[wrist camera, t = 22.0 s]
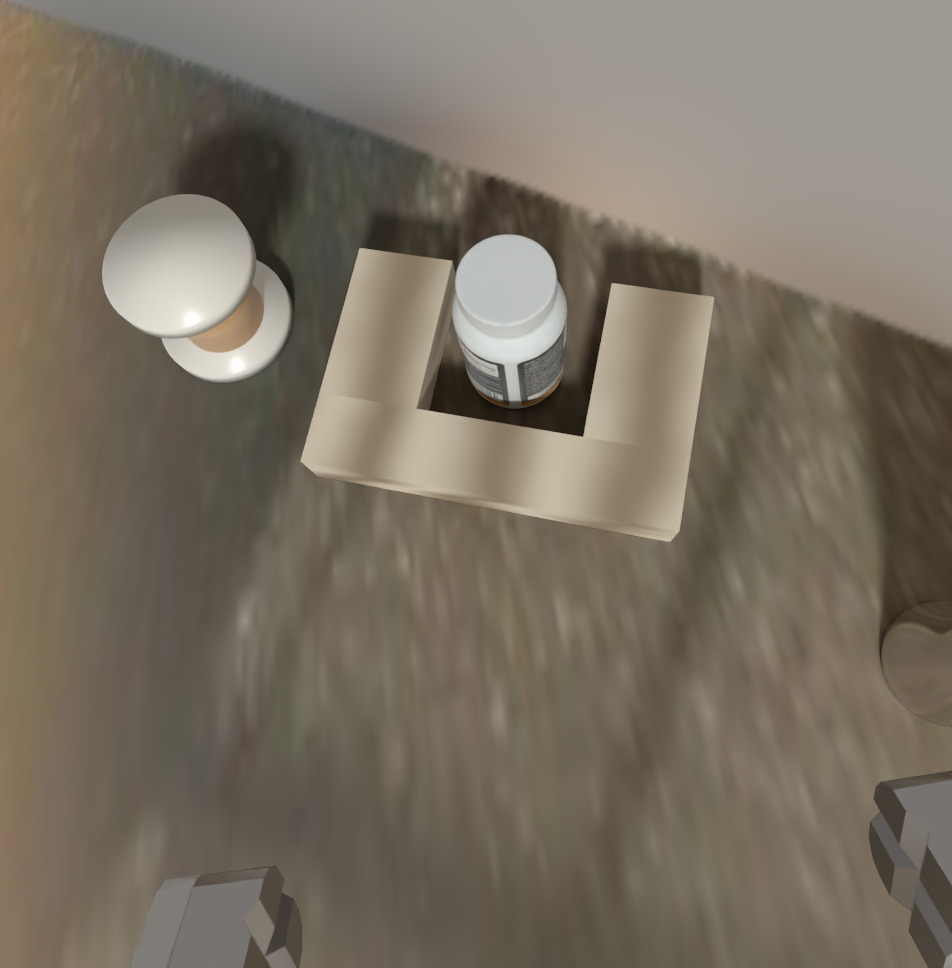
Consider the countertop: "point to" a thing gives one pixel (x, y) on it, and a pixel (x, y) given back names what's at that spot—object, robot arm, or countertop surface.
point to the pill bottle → (510, 320)
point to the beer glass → (921, 660)
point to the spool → (198, 287)
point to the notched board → (503, 447)
